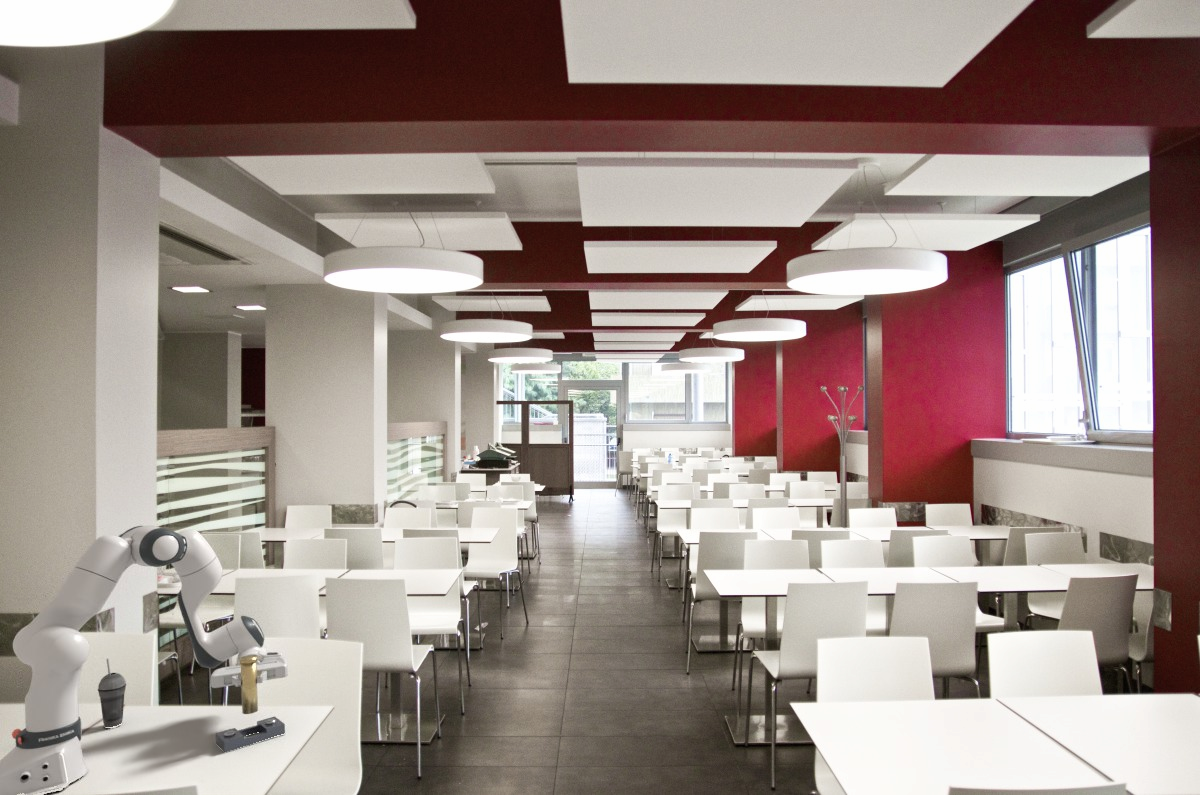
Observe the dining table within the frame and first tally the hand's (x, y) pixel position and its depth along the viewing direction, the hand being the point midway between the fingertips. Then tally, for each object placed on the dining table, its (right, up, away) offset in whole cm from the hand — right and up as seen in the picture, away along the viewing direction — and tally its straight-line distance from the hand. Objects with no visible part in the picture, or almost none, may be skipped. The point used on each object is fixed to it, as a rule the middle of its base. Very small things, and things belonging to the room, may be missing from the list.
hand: (249, 682), depth 216 cm
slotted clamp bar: (0, -16, 0) cm, 16 cm away
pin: (0, -9, +1) cm, 9 cm away
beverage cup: (-47, -19, +14) cm, 53 cm away
